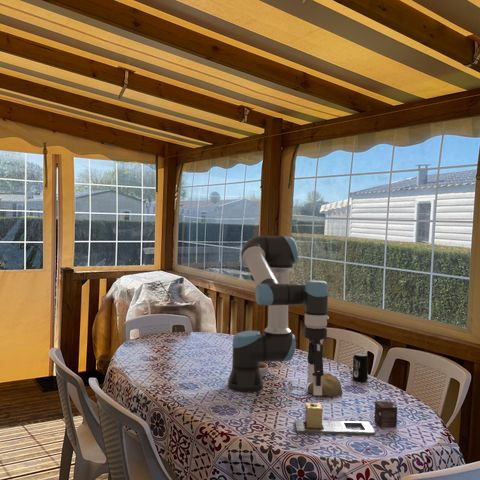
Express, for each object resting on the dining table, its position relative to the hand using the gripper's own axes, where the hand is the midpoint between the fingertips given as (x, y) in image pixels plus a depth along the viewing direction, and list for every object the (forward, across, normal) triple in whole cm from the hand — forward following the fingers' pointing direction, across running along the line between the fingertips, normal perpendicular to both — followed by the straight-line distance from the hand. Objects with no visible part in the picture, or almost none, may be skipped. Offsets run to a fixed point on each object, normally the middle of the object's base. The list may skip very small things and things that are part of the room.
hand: (314, 388), depth 171 cm
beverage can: (+13, +56, -29) cm, 65 cm away
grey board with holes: (+14, 0, -7) cm, 15 cm away
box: (+14, +6, -26) cm, 30 cm away
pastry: (+14, +38, -10) cm, 42 cm away
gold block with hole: (+14, 0, 0) cm, 14 cm away
